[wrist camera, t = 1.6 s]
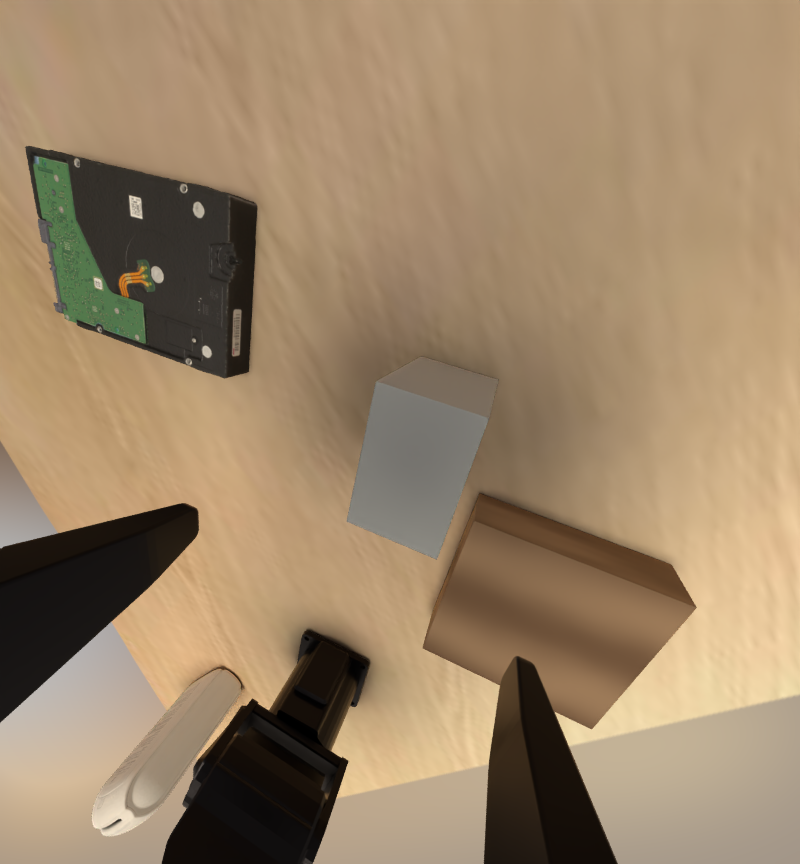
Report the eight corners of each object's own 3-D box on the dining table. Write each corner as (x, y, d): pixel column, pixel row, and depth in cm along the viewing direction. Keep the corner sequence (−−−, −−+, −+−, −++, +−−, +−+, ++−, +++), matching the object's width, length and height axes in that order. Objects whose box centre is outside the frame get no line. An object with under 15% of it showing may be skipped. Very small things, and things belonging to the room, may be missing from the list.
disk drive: (264, 201, 20) (71, 159, 23) (229, 187, 17) (17, 141, 20) (256, 372, 24) (94, 319, 27) (227, 381, 22) (52, 321, 24)
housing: (460, 485, 22) (436, 559, 15) (394, 460, 22) (346, 521, 16) (498, 379, 19) (489, 418, 12) (421, 356, 20) (376, 381, 13)
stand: (583, 680, 24) (591, 729, 21) (432, 612, 26) (422, 648, 23) (671, 564, 19) (696, 607, 16) (479, 493, 21) (473, 520, 19)
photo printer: (210, 708, 42) (102, 851, 31) (186, 684, 42) (69, 818, 31) (250, 688, 38) (140, 847, 27) (223, 660, 38) (101, 809, 27)
